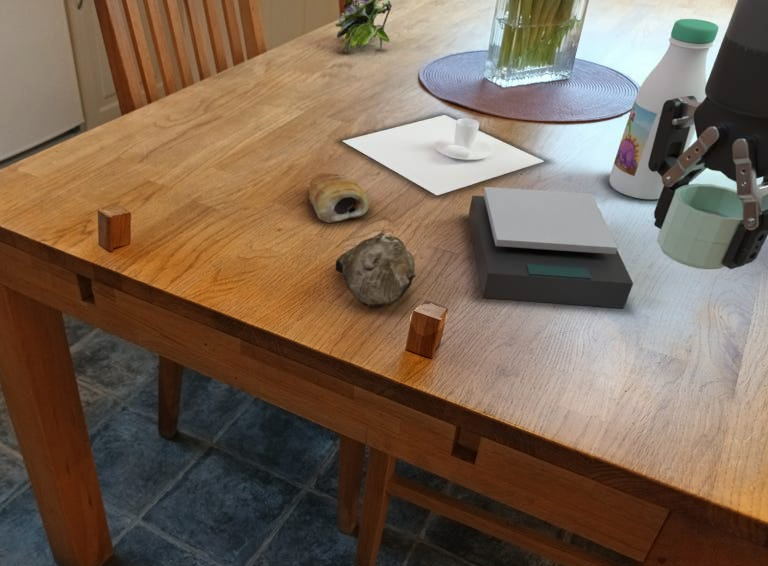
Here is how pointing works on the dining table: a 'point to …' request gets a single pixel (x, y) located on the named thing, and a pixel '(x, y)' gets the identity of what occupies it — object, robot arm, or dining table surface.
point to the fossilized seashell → (377, 270)
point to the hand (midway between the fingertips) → (697, 244)
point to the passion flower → (362, 23)
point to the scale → (546, 248)
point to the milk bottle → (666, 81)
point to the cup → (700, 225)
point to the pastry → (337, 197)
